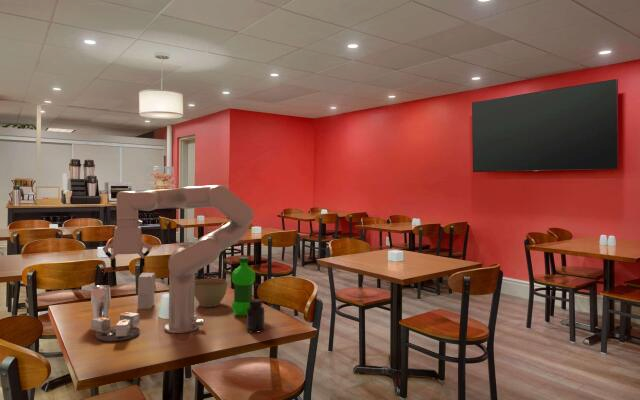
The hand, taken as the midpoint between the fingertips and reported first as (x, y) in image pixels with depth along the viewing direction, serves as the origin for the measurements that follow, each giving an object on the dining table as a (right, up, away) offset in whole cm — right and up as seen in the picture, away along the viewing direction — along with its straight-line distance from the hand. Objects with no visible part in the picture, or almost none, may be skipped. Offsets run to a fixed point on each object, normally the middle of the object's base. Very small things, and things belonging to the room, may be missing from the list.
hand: (127, 268), depth 173 cm
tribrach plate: (-2, -24, -3) cm, 24 cm away
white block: (-8, -23, -5) cm, 24 cm away
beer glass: (-14, -24, +9) cm, 29 cm away
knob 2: (+2, -23, -8) cm, 24 cm away
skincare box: (-6, -23, +35) cm, 42 cm away
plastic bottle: (+39, -24, +27) cm, 53 cm away
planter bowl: (+21, -23, +41) cm, 52 cm away
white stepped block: (0, -23, +2) cm, 23 cm away
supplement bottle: (+48, -25, +6) cm, 54 cm away
